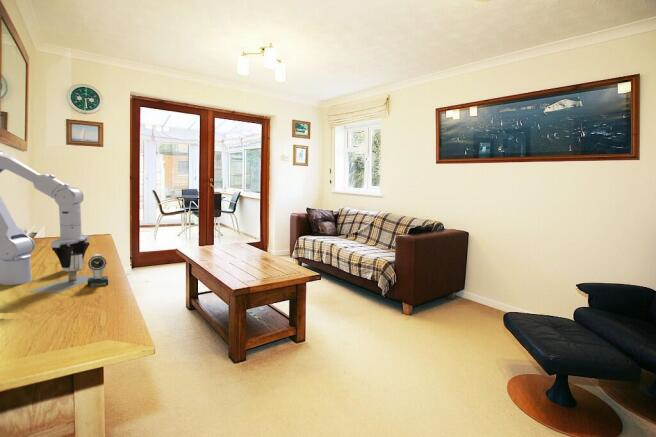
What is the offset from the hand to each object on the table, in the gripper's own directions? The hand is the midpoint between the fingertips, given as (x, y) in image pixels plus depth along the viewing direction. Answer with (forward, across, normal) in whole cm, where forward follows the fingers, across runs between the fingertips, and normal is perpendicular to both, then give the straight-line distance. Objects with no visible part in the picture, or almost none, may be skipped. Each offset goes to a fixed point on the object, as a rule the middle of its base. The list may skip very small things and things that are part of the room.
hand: (72, 265), depth 119 cm
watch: (+7, -3, -10) cm, 13 cm away
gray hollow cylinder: (+1, 0, 0) cm, 1 cm away
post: (+5, 0, 0) cm, 5 cm away
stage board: (+6, -3, 0) cm, 7 cm away
